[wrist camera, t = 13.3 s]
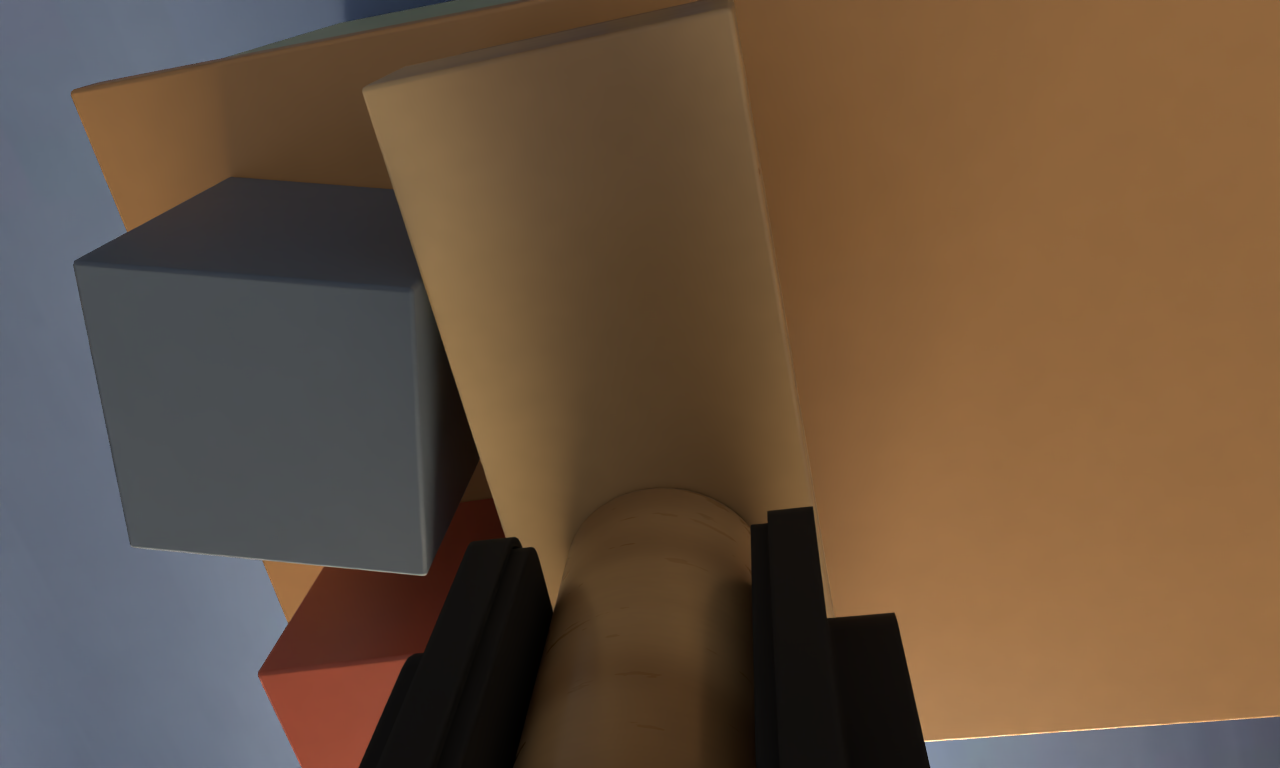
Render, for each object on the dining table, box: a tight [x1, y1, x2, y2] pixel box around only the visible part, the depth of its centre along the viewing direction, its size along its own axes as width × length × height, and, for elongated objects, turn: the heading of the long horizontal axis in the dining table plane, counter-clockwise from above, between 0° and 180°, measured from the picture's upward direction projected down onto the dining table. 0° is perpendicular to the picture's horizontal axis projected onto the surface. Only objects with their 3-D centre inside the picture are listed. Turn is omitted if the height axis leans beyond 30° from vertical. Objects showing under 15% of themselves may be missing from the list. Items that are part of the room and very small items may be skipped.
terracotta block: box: [258, 498, 505, 768], centre depth 16 cm, size 4×4×4 cm
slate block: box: [73, 177, 480, 576], centre depth 14 cm, size 4×4×4 cm
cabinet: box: [71, 0, 1280, 742], centre depth 20 cm, size 18×15×10 cm
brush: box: [362, 0, 835, 768], centre depth 11 cm, size 4×13×10 cm, turn 12°
